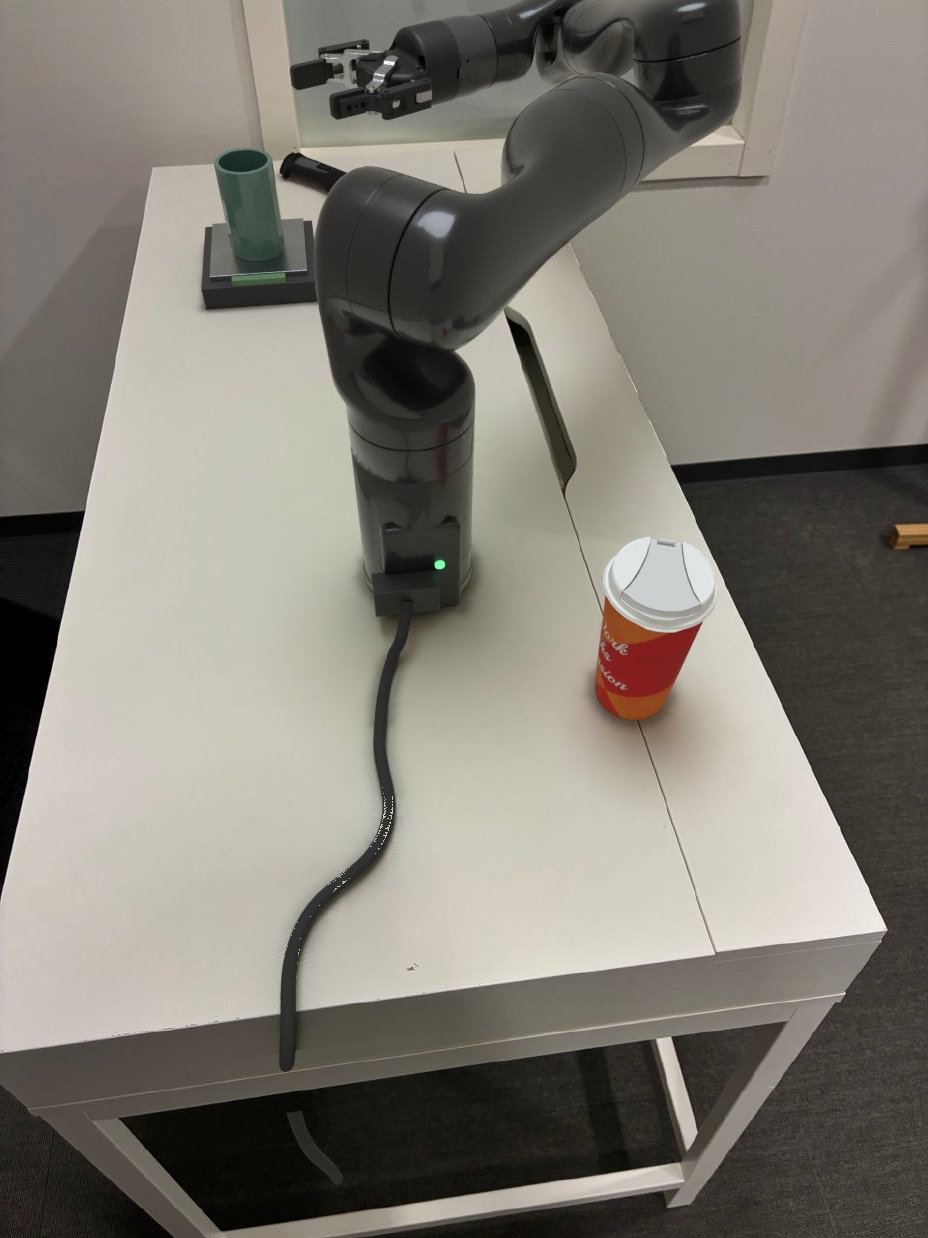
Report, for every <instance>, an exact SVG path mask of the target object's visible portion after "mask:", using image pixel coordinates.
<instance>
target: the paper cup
mask: <svg viewBox="0 0 928 1238" xmlns="http://www.w3.org/2000/svg"><path fill="white" fill-rule="evenodd" d="M602 586H603V590H604V593H605V596H604V604H603V612H602V621H601V629H600V635H599V644H598V652H597V660H596V668H595V680H594V689H595V695H596V697H597V699H598V702H599V703H600V704H601V706H602V707H603V708H604V709H605V710H606V711H608V712H609V713H610V714H612V715H614V716H615V717H618V718H621V719H624V720H629V721H630V720H631V721H638V720H639V721H640V720H645V719H647V718H650V717H652V716H654V715H655V714H657V713H658V712H659V711H660V710H661V708H662V707H663V706H664V704H665V702H666V701H667V699H668V697H669V696H670V694H671V691H672V688H673V686H674V685H675V684H676V683H675V682H676V680H677V678H678V676H679V674H680V672H681V670H682V668H683V666H684V663H685V661H686V660H687V657H688V655H689V653H690V651H691V649H692V646H693V644H694V642H695V640H696V637H697V636H698V634H699V632H700V630H701V627H702V625H703V623H704V621H705V620H707V619H708V617H710V616H711V615H712V613H713V612H714V610H715V609H716V606H717V603H718V598H719V587H718V583H717V580H716V575H715V572H714V569H713V566H712V564H711V563H710V561H709V560H708V558H707V557H706V556H705V555H704V554H703V553H702V552H701V551H699V550H698V549H697V548H696V547H694V546H692V545H691V544H689V543H687V542H685V541H682V542H676V540H674V539H668V538H662V537H658V538H657V539H655V538H652V537H651V536H645V537H642V538H641V537H640V538H638V539H635V540H633V541H630V542H629V543H627V544H626V545H625V546H623V547H622V548H621V549H619V551H618V552H617V553H616V554H615V555H614V556H613V557H612V558H611V559H610V560H609V562H608V563H607V565H606V567H605V569H604V572H603V577H602Z"/></svg>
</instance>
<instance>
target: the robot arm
mask: <svg viewBox="0 0 928 1238" xmlns="http://www.w3.org/2000/svg"><path fill="white" fill-rule="evenodd" d="M740 6H741V5H740V1H739V0H516V1H515V2H513V3H511V4H509V5H507V6H504V7H501V8H498V9H493V10H490V11H485V12H481V13H476V14H468V15H467V14H466V15H465V14H464V15H453V16H448V17H444V18H439V19H435V20H430V21H425V22H422V23H416V24H412V25H408V26H403V27H401V28H400V29H399V30H397V32H396V33H395V35H394V38H393V41H392V43H391V45H390V47H389V48H388V49H386V48H384V47H371V46H370V40H369V39H365V38H362V39H358V40H357V39H356V40H352V41H347V42H342V43H337V44H331V45H326V46H321V47H318V48H317V55H318V58H317V59H313V60H309V61H304V62H300V63H295V64H292V65H291V66H290V67H289V75H290V84H291V86H292V88H293V89H294V90H296V91H302V90H306V89H310V88H314V87H315V88H316V87H320V86H324V85H327V84H328V85H329V84H332V85H333V84H336V85H337V84H338V85H343V86H344V87H345V90H341V91H337V92H333V93H331V94H330V95H329V98H328V101H329V102H328V103H329V112H330V116H331V117H332V118H334V120H337V121H339V120H343V119H347V118H350V117H354V116H355V117H356V116H358V115H362V114H363V115H364V114H368V115H370V116H377V115H379V114H381V119H382V120H384V121H392V120H394V119H398V118H401V117H405V116H408V115H412V114H414V113H418V112H422V111H425V110H428V109H431V108H432V106H435V105H439V104H443V103H447V102H451V101H456V100H459V99H463V98H467V97H470V96H472V95H474V94H477V93H479V92H481V91H484V90H487V89H490V88H495V87H499V86H502V85H507V84H511V83H514V82H517V81H520V80H521V79H523V78H524V77H526V76H527V74H528V73H529V72H530V70H531V67H532V65H533V61H535V67H536V71H537V73H538V75H539V77H540V79H541V80H542V81H543V82H544V83H545V84H547V85H550V86H553V88H552V89H550V90H549V91H547V92H545V93H544V94H541V95H540V96H539V97H538V98H536V99H535V100H533V101H532V102H531V103H529V104H528V105H527V106H525V108H524V109H522V111H521V112H520V113H519V114H518V115H517V116H516V117H515V119H514V120H513V123H512V124H511V126H510V128H509V130H508V131H507V134H506V137H505V140H504V143H503V146H502V152H501V159H500V186H499V187H497V188H495V189H492V190H490V191H488V192H482V193H469V192H464V191H463V192H462V191H457V190H455V189H452V188H449V187H446V186H443V185H440V184H436V183H434V182H431V181H428V180H425V179H421V178H418V177H415V176H411V175H409V174H406V173H402V172H399V171H396V170H393V169H388V168H385V167H380V166H374V165H373V166H372V165H366V166H360V167H356V168H353V169H351V170H350V171H348V172H347V173H346V174H345V175H344V176H342V177H341V178H340V179H339V180H338V181H337V182H336V183H335V185H334V186H333V187H332V189H331V190H330V192H328V193H327V196H326V197H325V200H324V201H323V203H322V206H321V209H320V212H319V215H318V217H317V218H318V219H317V224H316V227H315V232H314V279H315V289H316V295H317V301H316V302H317V307H318V312H319V318H320V322H321V328H322V333H323V337H324V338H323V339H324V344H325V348H326V353H327V359H328V365H329V370H330V375H331V379H332V382H333V386H334V387H335V390H336V392H337V393H338V395H339V397H340V398H341V400H342V402H343V403H344V404H345V408H346V409H345V410H346V417H347V427H348V436H349V443H350V453H351V463H352V471H353V480H354V489H355V497H356V504H357V505H356V507H357V515H358V524H359V532H360V543H361V547H362V557H363V562H362V563H363V565H362V566H363V567H362V568H363V574H364V579H365V581H366V584H367V586H368V588H369V589H370V591H372V594H373V595H372V596H373V603H374V613H375V617H376V618H380V617H389V616H390V617H391V616H399V617H398V624H397V628H396V633H395V636H394V639H393V641H392V644H391V645H390V647H389V649H388V651H387V655H386V658H385V661H384V665H383V668H382V672H381V676H380V678H379V684H378V689H377V695H376V699H375V710H374V721H373V736H372V738H373V741H372V747H373V748H372V749H373V758H374V763H375V768H376V769H375V770H376V773H377V778H378V783H379V787H380V793H381V798H382V799H381V803H382V804H381V805H382V809H381V818H380V822H379V825H378V829H377V832H376V834H375V836H374V838H373V840H372V841H371V843H370V844H369V846H368V848H367V849H366V850H365V851H364V853H363V854H362V855H360V857H359V858H357V859H356V860H355V862H353V863H352V864H351V865H350V866H349V867H350V868H349V867H347V868H346V869H345V870H344V871H345V872H344V871H341V873H339V875H341V874H343V875H341V876H340V877H341V878H340V877H338V876H339V875H337V876H336V877H335V878H333V879H332V880H331V881H329V883H331V884H329V883H327V884H325V886H324V887H322V889H321V890H319V892H316V894H315V895H314V896H313V898H311V900H310V901H309V902H308V903H307V905H306V906H305V908H303V910H302V912H301V913H300V914H299V916H298V919H297V920H296V922H295V924H294V926H293V928H292V930H291V933H290V936H289V939H288V941H287V945H286V948H285V952H284V956H285V957H284V956H283V960H282V967H281V973H280V974H281V976H280V992H279V993H280V996H279V997H280V998H279V1000H280V1001H279V1003H280V1004H279V1011H280V1013H279V1015H280V1016H279V1018H280V1020H279V1021H280V1022H279V1023H280V1024H279V1029H280V1030H279V1054H278V1067H279V1069H280V1071H282V1072H283V1073H287V1072H290V1071H291V1070H292V1069H293V1068H294V1066H295V1063H296V1062H295V1061H296V1048H297V1047H296V1046H297V979H296V976H297V977H298V968H299V964H298V965H297V962H298V963H299V961H300V956H301V953H302V949H303V947H304V942H305V941H306V937H307V934H308V932H309V930H310V928H311V926H312V925H313V923H314V921H315V920H316V918H317V917H318V916H319V914H320V912H321V911H322V910H323V909H324V908H325V907H326V906H327V905H328V904H329V902H331V901H332V900H333V899H334V898H335V897H336V896H338V895H339V894H340V893H341V892H342V891H343V890H345V889H346V888H347V887H348V886H350V885H351V884H352V883H354V882H355V881H356V880H357V879H358V878H360V877H361V876H362V875H363V874H364V873H365V872H367V870H368V869H370V867H371V866H373V865H374V864H375V862H376V861H377V860H378V858H380V856H381V854H383V852H384V850H385V848H386V847H387V845H388V842H389V840H390V837H391V835H392V833H393V828H394V825H395V820H396V809H397V805H396V793H395V788H394V782H393V778H392V774H391V769H390V765H389V760H388V754H387V728H388V727H387V724H388V711H389V701H390V694H391V689H392V684H393V679H394V676H395V672H396V668H397V666H398V661H399V658H400V656H401V654H402V652H403V650H404V648H405V647H406V645H407V644H406V643H407V640H408V637H409V633H410V628H411V623H412V614H417V613H426V612H435V611H440V610H441V607H450V606H457V605H460V604H461V597H462V596H461V593H463V591H464V590H465V589H466V587H467V586H468V585H469V582H470V580H471V577H472V572H473V557H472V541H473V537H472V534H473V533H472V531H473V500H474V499H473V496H474V495H473V494H474V457H475V431H476V429H475V427H476V426H475V425H476V399H477V398H476V397H477V396H476V393H477V391H476V382H475V377H474V376H473V372H472V369H471V367H470V365H468V363H467V362H466V361H465V359H464V358H463V357H462V356H461V355H460V354H459V353H458V352H457V351H458V350H460V349H462V348H463V347H465V346H467V345H468V344H470V343H471V342H472V341H474V340H476V338H478V337H479V336H480V335H481V334H482V333H483V332H484V331H485V330H486V329H488V327H489V326H491V324H492V323H493V322H494V321H495V320H496V319H497V318H498V317H499V316H500V314H502V312H503V311H504V310H505V309H507V307H508V306H509V305H510V304H511V302H512V301H513V300H514V299H515V298H516V297H517V295H518V294H519V293H520V292H521V291H522V289H523V288H524V287H525V286H526V285H527V284H528V283H529V282H530V280H531V279H532V278H533V277H534V276H535V275H536V274H537V273H538V271H540V269H541V268H542V267H543V266H544V265H546V263H547V262H548V261H549V260H551V259H552V258H553V257H554V256H555V255H556V254H557V253H559V251H561V249H562V248H564V247H565V246H566V245H567V244H568V243H569V242H570V241H572V240H573V239H574V238H575V237H576V236H577V235H578V234H580V233H581V232H582V231H583V230H584V229H585V228H586V227H588V226H589V225H590V224H593V222H595V221H596V220H597V219H599V218H600V217H602V216H603V215H604V214H605V213H608V211H609V210H610V209H612V208H613V207H614V206H615V205H617V204H618V203H619V202H620V201H621V200H623V199H624V198H625V197H626V196H627V195H628V194H629V193H630V192H631V191H632V190H633V189H634V188H635V187H637V185H638V184H639V183H641V182H642V181H643V180H644V179H645V178H646V177H648V176H649V175H650V174H652V173H653V172H654V171H655V170H657V169H658V168H659V167H660V166H662V165H664V163H666V162H667V161H668V160H669V159H671V158H673V157H674V156H676V155H678V154H679V153H681V152H683V151H684V150H686V149H687V148H689V147H692V145H693V146H694V145H695V144H696V143H698V142H700V141H701V140H703V139H705V138H706V137H709V135H711V134H713V133H715V132H716V131H718V130H719V129H721V128H722V127H723V126H725V125H726V124H727V123H728V122H729V121H730V120H731V119H732V118H733V117H734V115H735V114H736V113H737V111H738V109H739V106H740V103H741V99H742V93H743V36H742V34H743V31H742V30H743V29H742V11H741V7H740ZM631 71H633V78H634V84H633V83H632V82H630V81H628V80H626V79H624V78H623V77H624V76H626V75H627V74H630V73H631ZM353 72H355V78H354V75H353ZM394 104H398V106H396V107H394ZM382 787H383V788H382ZM383 793H384V794H383ZM392 796H393V800H392ZM384 797H385V798H384ZM385 799H386V800H385ZM384 800H385V801H384ZM392 801H393V803H392ZM384 802H386V803H385V805H386V806H385V807H384ZM392 804H393V806H392ZM386 807H387V808H386ZM392 807H393V814H391V813H390V812H392V810H391V809H392ZM384 808H386V809H385V810H386V812H385V813H386V814H385V815H384V816H386V817H385V818H384V819H383V814H384V811H385V810H384ZM389 815H392V819H391V816H389ZM387 818H389V819H387ZM382 819H383V820H382ZM390 819H391V820H390ZM382 821H383V822H382ZM389 822H391V824H390V823H389ZM381 824H383V825H382V826H383V827H382V828H381V829H380V826H381ZM388 825H390V827H389V826H388ZM387 827H389V831H388V829H385V828H387ZM379 830H381V831H380V832H379ZM378 832H379V833H380V834H378ZM385 832H388V833H387V836H386V838H385V836H383V835H386V833H385ZM377 835H378V836H377ZM376 836H377V837H376ZM375 838H377V839H376V840H375ZM384 839H385V840H384ZM374 840H375V841H376V842H374ZM383 840H384V842H383ZM372 843H373V844H372ZM381 843H383V844H382V845H381ZM370 846H372V847H370ZM378 848H380V849H379V850H378ZM375 853H376V854H375ZM346 870H347V871H346ZM343 872H344V873H345V874H344V873H343ZM337 877H338V878H337ZM349 878H350V879H349ZM334 879H335V880H336V881H335V880H334ZM346 880H347V881H346ZM333 881H334V882H333ZM342 881H346V882H345V883H344V884H342V883H343V882H342ZM328 884H329V885H328ZM340 885H341V886H340ZM337 886H340V887H337ZM335 888H337V889H336V890H335ZM334 890H335V891H334ZM333 891H334V892H333ZM319 905H320V906H319ZM310 916H311V917H310ZM297 922H298V923H297ZM294 928H295V929H294ZM291 935H292V936H291ZM300 938H301V939H300ZM287 946H288V947H287ZM286 949H287V950H286ZM299 949H300V951H299ZM298 952H299V954H298ZM298 955H299V956H298ZM296 974H297V975H296ZM286 1116H287V1119H288V1122H289V1125H290V1128H291V1131H292V1133H293V1135H294V1137H295V1140H296V1142H297V1144H298V1146H299V1148H300V1149H301V1151H302V1152H303V1153H304V1155H305V1156H306V1157H307V1158H308V1159H309V1161H311V1162H312V1164H313V1165H315V1166H316V1167H318V1168H319V1169H320V1170H321V1171H322V1172H324V1173H325V1174H326V1175H327V1177H329V1178H330V1180H331V1181H332V1182H333V1184H334V1185H336V1186H339V1185H341V1184H342V1183H343V1181H344V1176H343V1174H342V1172H341V1171H340V1169H339V1168H338V1167H337V1165H336V1164H335V1163H334V1162H333V1161H332V1160H331V1159H330V1158H329V1157H328V1156H326V1154H325V1153H324V1152H323V1151H322V1150H321V1149H320V1148H319V1147H318V1146H317V1144H316V1143H315V1141H314V1140H313V1138H312V1136H311V1134H310V1132H309V1130H308V1127H307V1125H306V1122H305V1121H306V1120H305V1118H304V1115H303V1110H297V1111H291V1112H286Z"/></svg>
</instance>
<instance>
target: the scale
mask: <svg viewBox="0 0 928 1238" xmlns="http://www.w3.org/2000/svg"><path fill="white" fill-rule="evenodd" d="M281 220H282V226H283V233H284V241H285V249H284V251H283V252H282V253H281V254H280V255H279V256H277V257H275V258H273V259H270V260H266V261H258V262H253V261H246V260H242V259H240V258H238V257H236V256H235V255H234V254H233V252H232V248H231V245H230V240H229V235H228V230H227V225H226V222H219V223H217V222H216V223H212V225H211V226H205V227H204V240H203V242H204V243H203V256H202V257H203V258H202V270H201V271H202V273H201V274H202V275H201V286H200V288H201V294H202V298H203V302H204V307H205V309H206V310H210V309H211V310H212V309H213V310H214V309H225V308H226V309H227V308H239V307H240V308H241V307H253V306H254V307H255V306H266V305H267V306H268V305H281V304H294V303H295V304H297V303H311V302H318V301H317V295H316V289H315V279H314V240H315V232H314V227H313V220H312V219H311V220H304V217H300V218H284V219H283V218H281Z"/></svg>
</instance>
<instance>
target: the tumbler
mask: <svg viewBox="0 0 928 1238" xmlns="http://www.w3.org/2000/svg"><path fill="white" fill-rule="evenodd" d="M213 161H214V162H213V167H214V171H215V176H216V181H217V186H218V190H219V196H220V201H221V205H222V211H223V215H224V220H225V223H226V225H227V230H228V235H229V240H230V245H231V248H232V252H233V254H234V255H235V256H236V257H238V258H240V259H242V260H246V261H253V262H258V261H266V260H270V259H273V258H275V257H277V256H279V255H280V254H281V253H282V252H283V251H284V249H285V241H284V233H283V226H282V220H281V219H282V215H281V214H282V213H281V208H280V207H281V206H280V201H279V195H278V189H277V182H276V175H275V169H274V162H273V157H272V155H271V154H270V153H268V152H267V151H265V150H263V149H260V148H253V147H237V148H233V149H229V150H226V151H224V152H221V153H220V154H218V155H217V156H216V157H215V159H214V160H213Z"/></svg>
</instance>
